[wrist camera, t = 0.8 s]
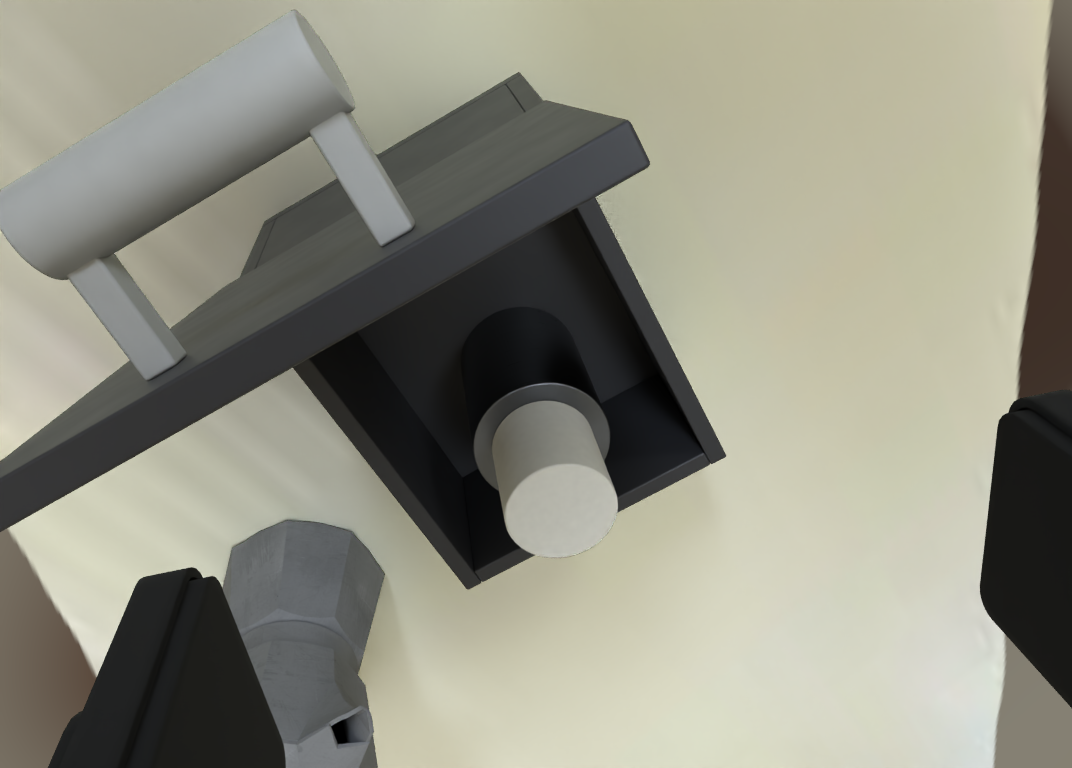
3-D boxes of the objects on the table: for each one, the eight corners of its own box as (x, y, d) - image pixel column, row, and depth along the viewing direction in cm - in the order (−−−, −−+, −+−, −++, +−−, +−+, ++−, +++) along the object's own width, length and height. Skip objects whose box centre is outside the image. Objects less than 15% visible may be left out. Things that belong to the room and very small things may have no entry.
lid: (652, 165, 13) (498, -148, 12) (-51, 561, 15) (-265, 327, 13) (557, 120, 31) (489, -10, 29) (236, 305, 32) (156, 190, 31)
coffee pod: (492, 401, 36) (505, 467, 32) (596, 397, 37) (623, 461, 32) (491, 489, 38) (503, 562, 34) (589, 484, 39) (614, 555, 34)
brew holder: (459, 302, 44) (473, 385, 36) (577, 299, 44) (615, 380, 36) (460, 406, 46) (472, 505, 38) (570, 402, 47) (605, 498, 39)
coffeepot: (301, 463, 46) (251, 739, 31) (439, 544, 50) (458, 827, 34) (147, 643, 51) (34, 967, 35) (285, 705, 54) (240, 1024, 39)
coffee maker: (673, 369, 47) (726, 456, 39) (456, 485, 49) (467, 590, 41) (519, 71, 39) (549, 107, 31) (263, 221, 40) (232, 291, 33)
